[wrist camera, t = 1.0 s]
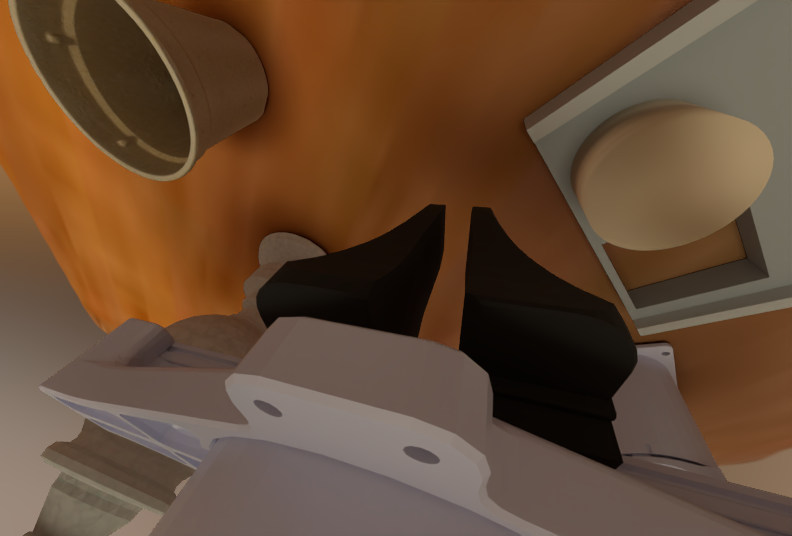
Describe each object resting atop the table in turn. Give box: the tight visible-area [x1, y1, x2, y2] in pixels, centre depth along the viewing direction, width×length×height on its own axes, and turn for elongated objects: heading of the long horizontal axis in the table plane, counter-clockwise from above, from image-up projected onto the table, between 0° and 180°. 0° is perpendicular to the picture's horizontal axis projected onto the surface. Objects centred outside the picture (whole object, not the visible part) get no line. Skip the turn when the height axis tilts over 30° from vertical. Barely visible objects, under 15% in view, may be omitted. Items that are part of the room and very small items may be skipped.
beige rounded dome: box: [570, 99, 774, 251], centre depth 14 cm, size 6×6×4 cm
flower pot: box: [8, 0, 268, 181], centre depth 17 cm, size 9×9×9 cm
